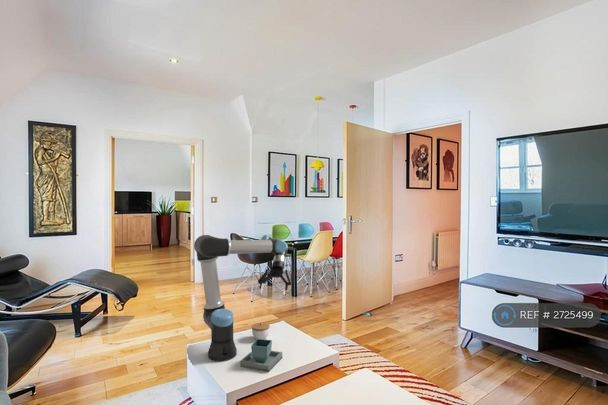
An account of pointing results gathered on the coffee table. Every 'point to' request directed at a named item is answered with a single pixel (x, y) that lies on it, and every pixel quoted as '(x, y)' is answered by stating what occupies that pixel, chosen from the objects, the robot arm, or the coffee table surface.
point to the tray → (262, 366)
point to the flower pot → (261, 349)
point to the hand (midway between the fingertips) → (272, 294)
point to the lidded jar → (260, 330)
